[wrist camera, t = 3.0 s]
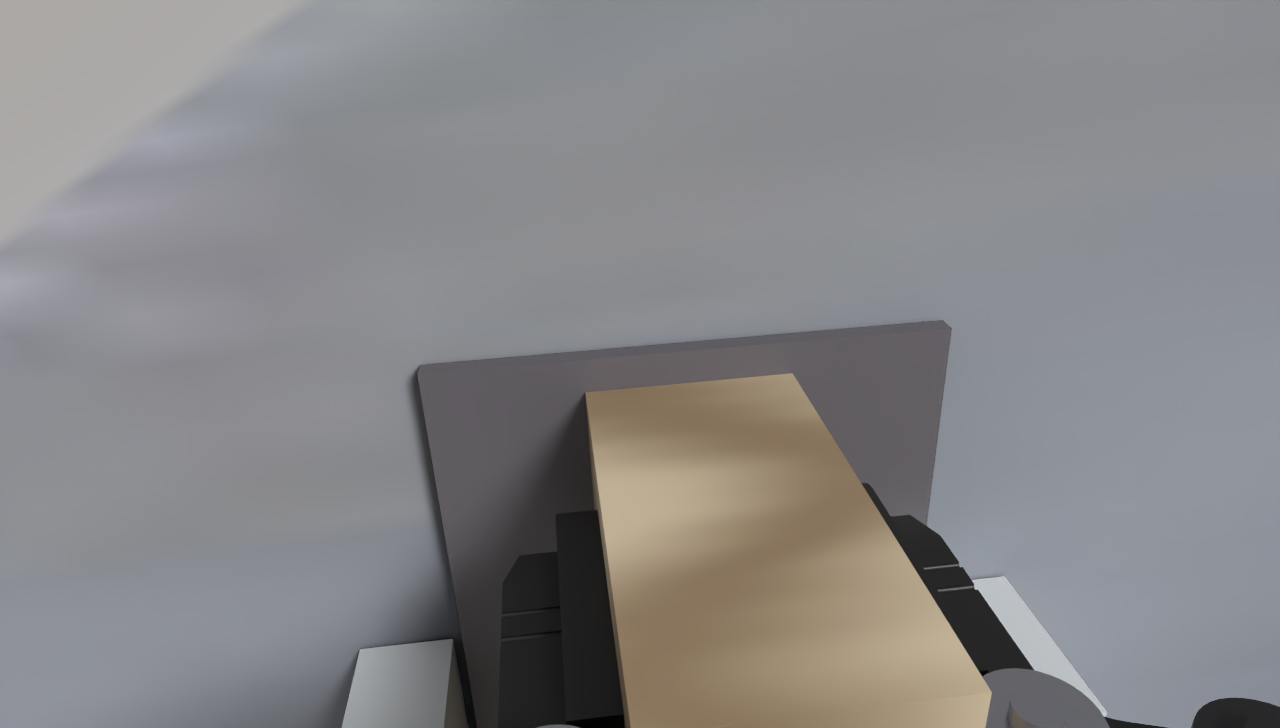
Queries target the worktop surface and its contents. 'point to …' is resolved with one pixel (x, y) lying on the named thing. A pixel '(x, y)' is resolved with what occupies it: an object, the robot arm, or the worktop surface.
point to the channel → (562, 483)
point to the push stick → (760, 570)
